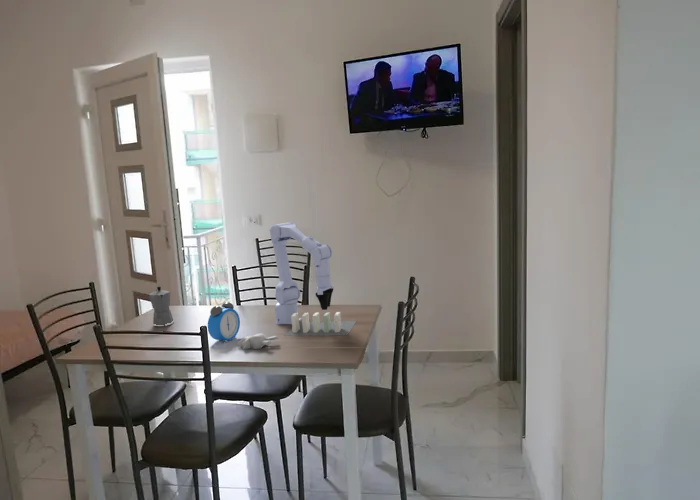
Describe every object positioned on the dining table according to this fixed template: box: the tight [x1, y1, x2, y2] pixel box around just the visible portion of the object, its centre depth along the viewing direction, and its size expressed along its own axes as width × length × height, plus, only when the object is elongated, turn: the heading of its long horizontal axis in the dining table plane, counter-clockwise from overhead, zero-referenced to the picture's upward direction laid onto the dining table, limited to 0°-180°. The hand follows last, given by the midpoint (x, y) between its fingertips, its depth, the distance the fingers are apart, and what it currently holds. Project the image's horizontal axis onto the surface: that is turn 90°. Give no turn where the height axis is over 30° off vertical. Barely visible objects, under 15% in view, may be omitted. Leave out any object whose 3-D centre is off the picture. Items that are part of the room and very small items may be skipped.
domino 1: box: [291, 312, 300, 333], centre depth 227 cm, size 2×5×7 cm, turn 169°
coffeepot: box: [148, 286, 174, 325], centre depth 254 cm, size 15×9×18 cm, turn 26°
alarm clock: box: [207, 301, 241, 343], centre depth 222 cm, size 13×6×15 cm, turn 151°
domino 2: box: [301, 312, 311, 333], centre depth 226 cm, size 2×5×7 cm, turn 168°
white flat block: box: [333, 311, 342, 332], centre depth 223 cm, size 2×5×7 cm, turn 168°
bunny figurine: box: [237, 332, 279, 350], centre depth 211 cm, size 10×5×15 cm
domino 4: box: [322, 311, 332, 332], centre depth 224 cm, size 2×5×7 cm, turn 168°
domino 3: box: [312, 311, 321, 332], centre depth 225 cm, size 2×5×7 cm, turn 168°
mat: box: [284, 320, 357, 337], centre depth 229 cm, size 26×19×1 cm
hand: (325, 307), depth 223 cm, fingers open, 4 cm apart
